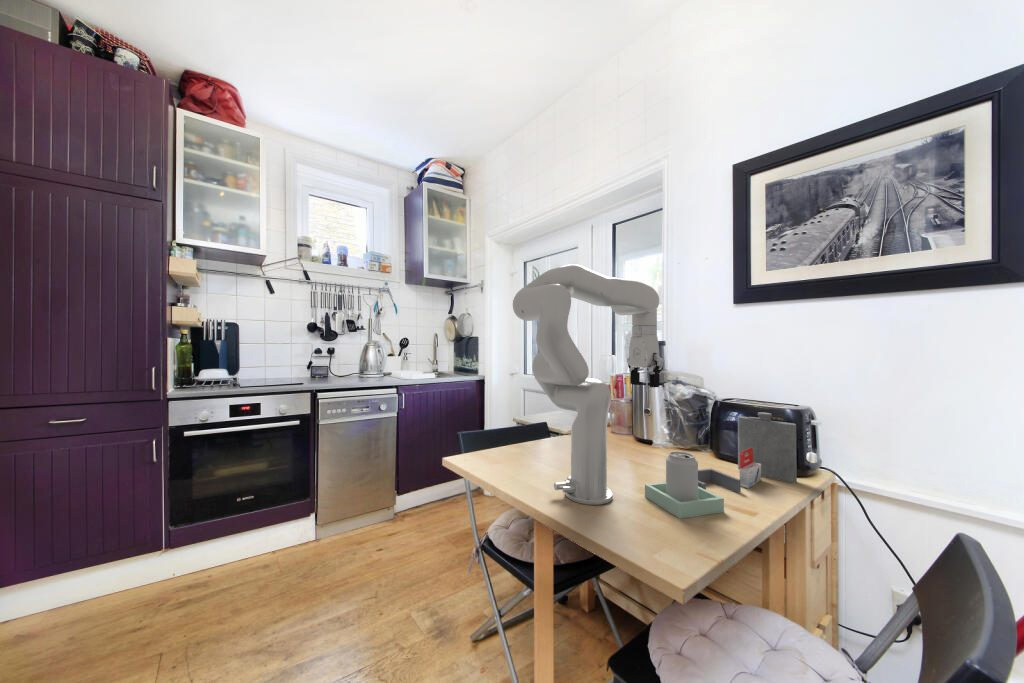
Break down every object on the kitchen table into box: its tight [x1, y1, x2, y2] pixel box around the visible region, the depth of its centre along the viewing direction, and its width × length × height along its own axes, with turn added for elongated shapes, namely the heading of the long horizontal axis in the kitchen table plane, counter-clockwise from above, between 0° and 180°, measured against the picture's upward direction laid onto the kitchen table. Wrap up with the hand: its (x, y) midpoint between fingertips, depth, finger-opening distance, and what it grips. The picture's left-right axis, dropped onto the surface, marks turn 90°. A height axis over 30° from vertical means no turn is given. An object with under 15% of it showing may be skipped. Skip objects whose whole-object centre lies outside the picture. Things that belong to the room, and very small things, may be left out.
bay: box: [698, 468, 742, 494], centre depth 103 cm, size 13×10×4 cm
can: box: [665, 450, 699, 502], centre depth 92 cm, size 8×8×12 cm
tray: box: [644, 481, 725, 519], centre depth 92 cm, size 13×13×3 cm
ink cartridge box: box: [739, 447, 762, 489], centre depth 108 cm, size 2×11×10 cm, turn 129°
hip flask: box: [737, 411, 798, 484], centre depth 115 cm, size 16×4×20 cm, turn 36°
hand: (644, 385), depth 114 cm, fingers open, 9 cm apart
